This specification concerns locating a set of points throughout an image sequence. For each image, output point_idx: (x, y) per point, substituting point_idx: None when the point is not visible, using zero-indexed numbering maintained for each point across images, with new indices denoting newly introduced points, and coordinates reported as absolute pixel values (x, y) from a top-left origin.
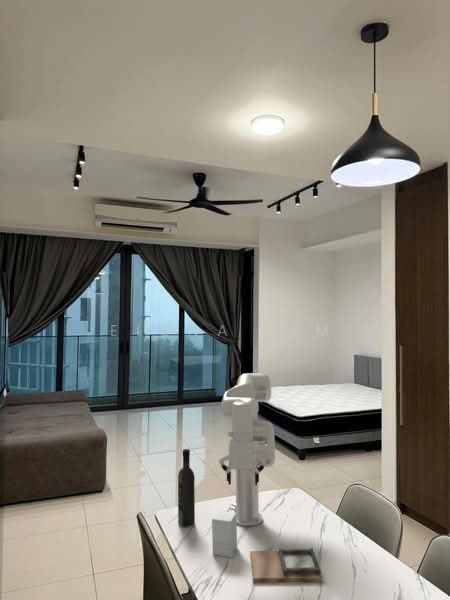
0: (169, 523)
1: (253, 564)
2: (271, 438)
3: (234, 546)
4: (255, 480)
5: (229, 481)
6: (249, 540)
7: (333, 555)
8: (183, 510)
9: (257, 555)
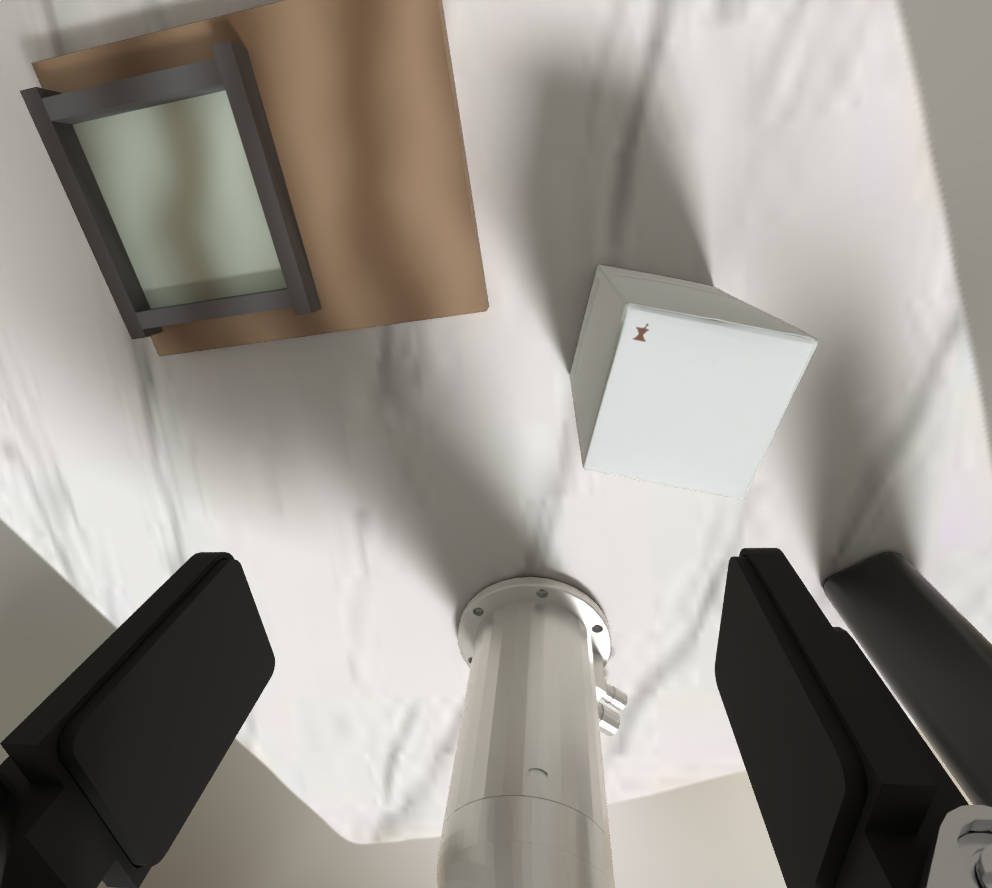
0: (976, 587)
1: (448, 151)
2: None
3: (583, 331)
4: (172, 616)
5: (782, 591)
6: (506, 455)
7: (76, 357)
8: (962, 621)
9: (437, 266)
